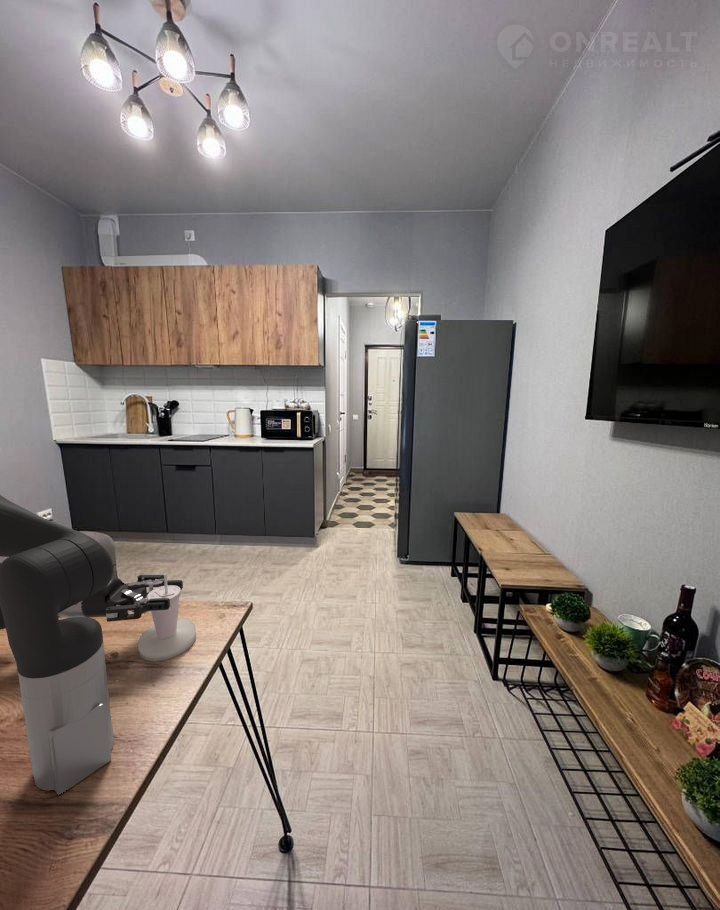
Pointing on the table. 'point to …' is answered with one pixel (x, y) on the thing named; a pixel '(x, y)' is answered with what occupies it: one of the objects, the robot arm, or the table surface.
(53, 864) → the table surface
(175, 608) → the smoothie
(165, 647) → the trivet
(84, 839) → the table surface
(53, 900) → the table surface
